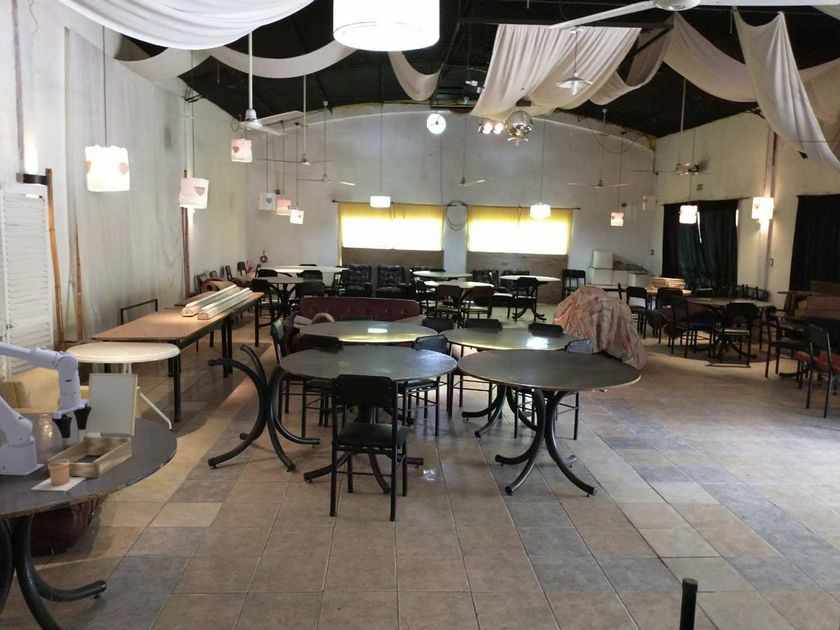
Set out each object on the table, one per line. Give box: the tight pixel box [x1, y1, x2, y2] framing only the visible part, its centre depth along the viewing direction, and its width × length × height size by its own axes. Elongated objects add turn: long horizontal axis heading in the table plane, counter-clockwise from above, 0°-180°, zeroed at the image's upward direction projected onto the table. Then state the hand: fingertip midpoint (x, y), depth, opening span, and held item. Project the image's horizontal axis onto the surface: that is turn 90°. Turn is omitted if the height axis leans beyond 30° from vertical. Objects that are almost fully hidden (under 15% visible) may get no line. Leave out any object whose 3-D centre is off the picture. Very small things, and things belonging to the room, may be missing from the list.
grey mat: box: [30, 476, 87, 492], centre depth 185 cm, size 11×9×1 cm
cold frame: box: [46, 436, 133, 478], centre depth 199 cm, size 16×18×6 cm
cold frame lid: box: [85, 372, 139, 436], centre depth 209 cm, size 17×20×1 cm
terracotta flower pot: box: [47, 460, 71, 486], centre depth 185 cm, size 6×6×6 cm
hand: (74, 433), depth 201 cm, fingers open, 7 cm apart
